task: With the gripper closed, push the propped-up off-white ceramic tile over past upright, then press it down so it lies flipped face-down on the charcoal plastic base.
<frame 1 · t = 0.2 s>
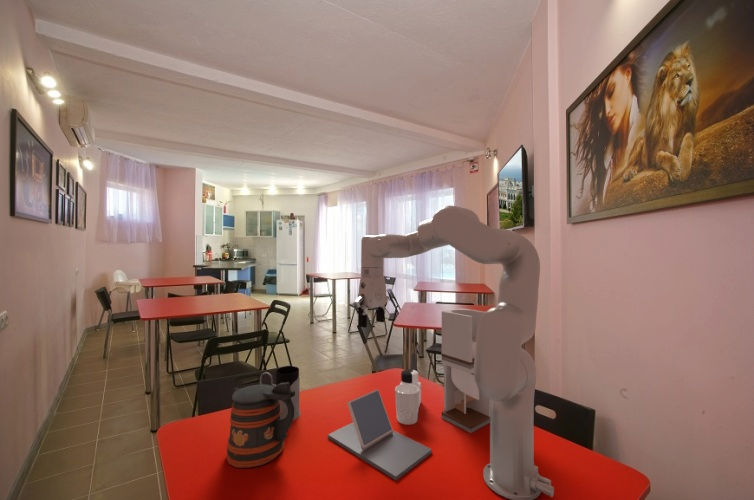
hand: (371, 324, 108), 31 cm above the table, tool pointing down, fingers open, 9 cm apart
white tiered shelf stand: (466, 420, 106), on the table
beer stein: (263, 453, 88), on the table
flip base: (377, 445, 92), on the table
medicine bottle: (409, 405, 117), on the table
glass holder: (279, 415, 109), on the table
tile: (370, 417, 94), point 7 cm above the table, hinge at 60.0°
white cup: (407, 420, 106), on the table
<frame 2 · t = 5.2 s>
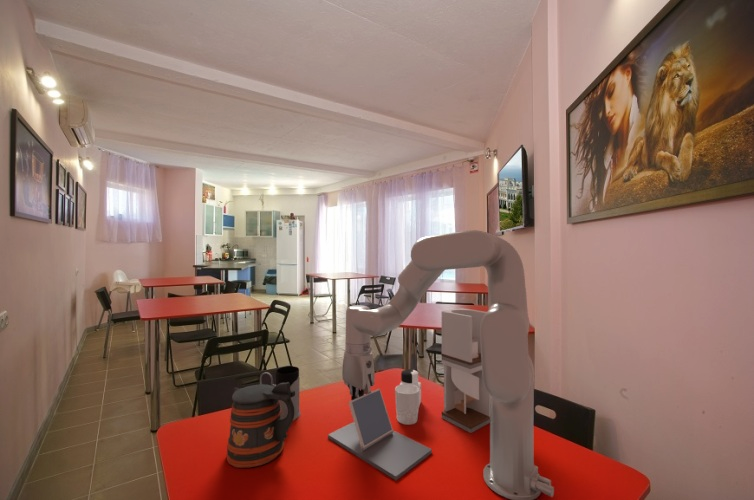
hand: (356, 408, 98), 7 cm above the table, tool pointing down, fingers closed
tile: (371, 417, 94), point 7 cm above the table, hinge at 63.5°, touching gripper
everything else where it was.
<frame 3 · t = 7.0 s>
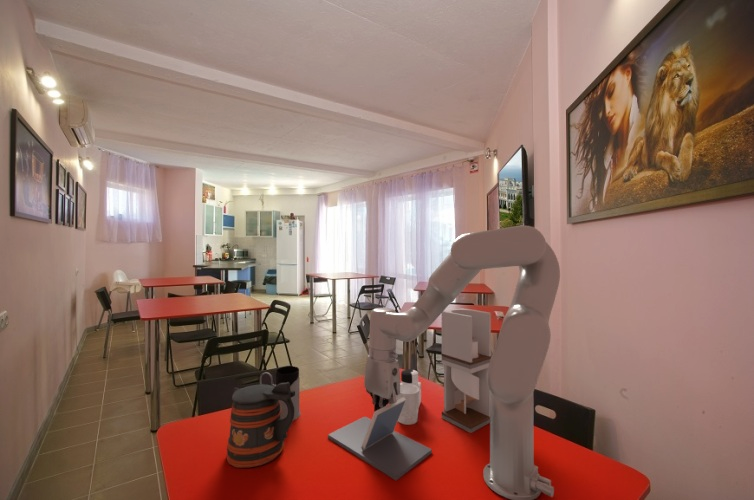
hand: (379, 418, 91), 8 cm above the table, tool pointing down, fingers closed
tile: (384, 423, 90), point 7 cm above the table, hinge at 113.8°, touching gripper
everything else where it was.
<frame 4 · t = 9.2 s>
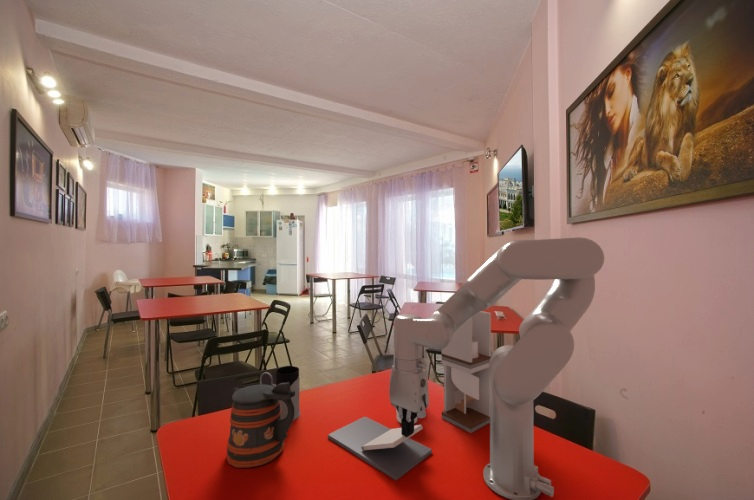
hand: (407, 433, 84), 7 cm above the table, tool pointing down, fingers closed
tile: (392, 437, 88), point 4 cm above the table, hinge at 154.5°, touching gripper
everything else where it was.
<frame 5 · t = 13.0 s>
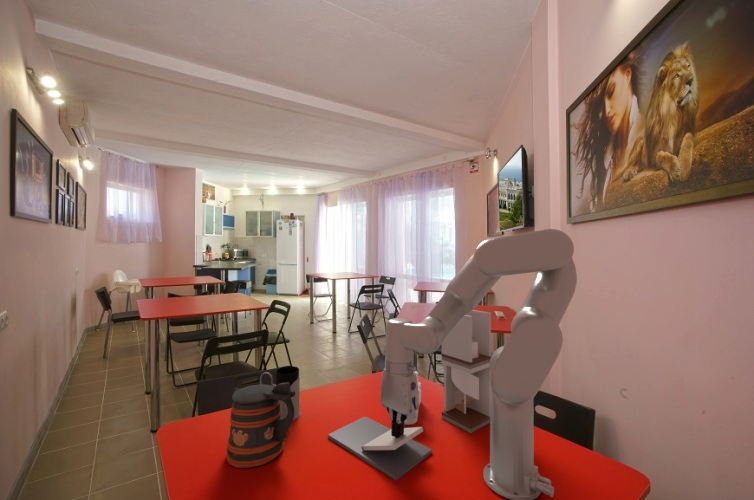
hand: (397, 435, 86), 6 cm above the table, tool pointing down, fingers closed
tile: (392, 438, 88), point 4 cm above the table, hinge at 157.3°, touching gripper
everything else where it was.
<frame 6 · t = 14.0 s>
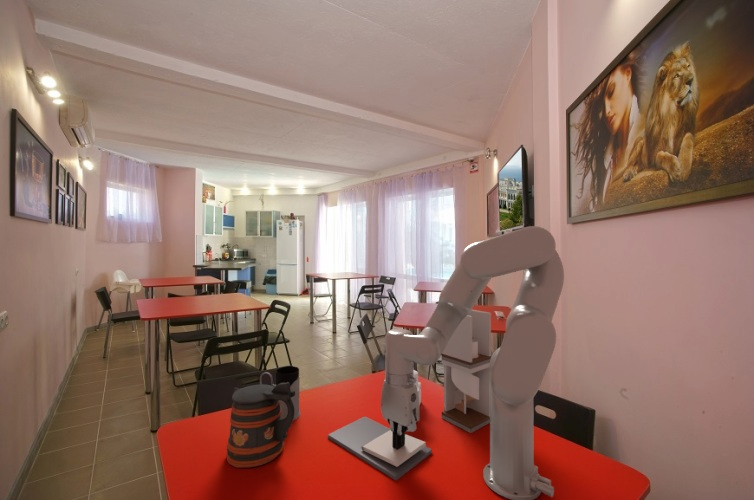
hand: (398, 446, 86), 3 cm above the table, tool pointing down, fingers closed
tile: (393, 446, 88), point 2 cm above the table, hinge at 175.6°, touching gripper
everything else where it was.
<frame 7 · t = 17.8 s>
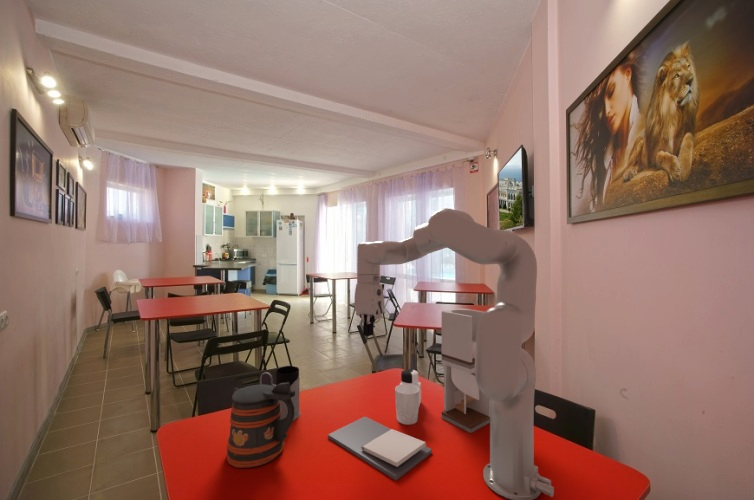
hand: (368, 335, 108), 27 cm above the table, tool pointing down, fingers closed
tile: (393, 446, 88), point 2 cm above the table, hinge at 175.6°
everything else where it was.
at the end: tile at +176° (first picture: +60°) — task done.
